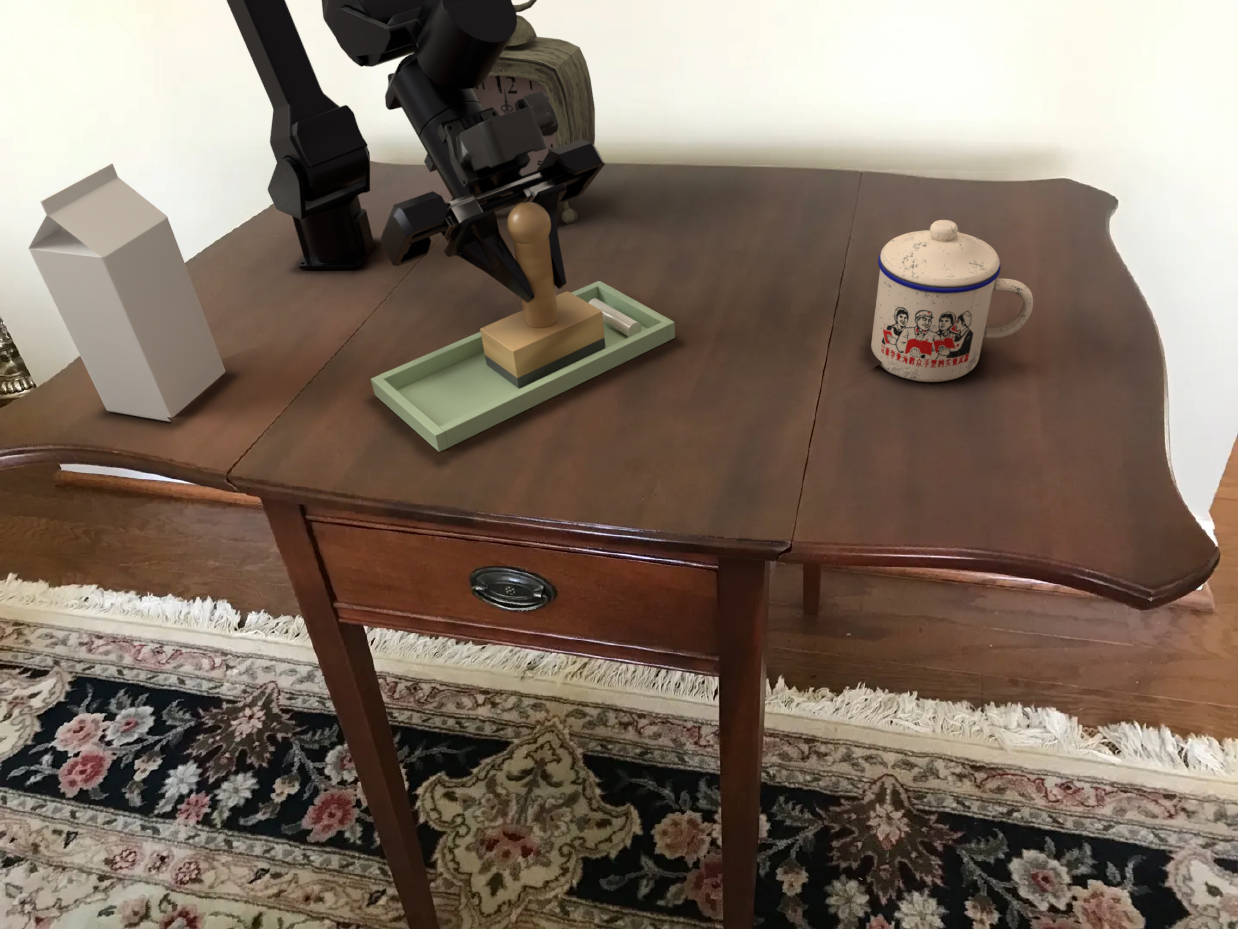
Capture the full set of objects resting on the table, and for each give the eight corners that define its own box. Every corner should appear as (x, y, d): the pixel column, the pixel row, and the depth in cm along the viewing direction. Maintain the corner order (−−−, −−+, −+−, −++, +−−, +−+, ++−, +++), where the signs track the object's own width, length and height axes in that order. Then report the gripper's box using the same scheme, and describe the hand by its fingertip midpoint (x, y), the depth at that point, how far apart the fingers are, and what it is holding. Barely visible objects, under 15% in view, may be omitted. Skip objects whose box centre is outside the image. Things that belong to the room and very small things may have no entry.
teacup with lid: (863, 379, 77) (879, 246, 70) (871, 323, 84) (886, 196, 77) (1021, 395, 75) (1054, 257, 67) (1016, 335, 81) (1046, 204, 74)
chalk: (629, 341, 83) (642, 333, 84) (627, 327, 82) (640, 319, 83) (588, 316, 87) (600, 309, 87) (585, 302, 86) (598, 295, 86)
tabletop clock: (458, 223, 106) (414, -25, 91) (489, 190, 113) (454, -46, 97) (581, 232, 102) (558, -25, 87) (606, 198, 109) (589, -47, 94)
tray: (440, 459, 73) (435, 435, 71) (376, 401, 79) (370, 378, 78) (675, 344, 84) (674, 321, 82) (601, 302, 90) (599, 280, 89)
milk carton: (229, 378, 84) (149, 166, 72) (175, 425, 79) (79, 204, 67) (163, 368, 86) (75, 160, 74) (107, 413, 81) (2, 197, 69)
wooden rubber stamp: (519, 389, 78) (494, 232, 70) (486, 365, 81) (459, 212, 73) (605, 347, 82) (592, 195, 74) (571, 326, 85) (555, 177, 77)
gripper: (363, 95, 65) (475, 295, 65) (580, 34, 74) (679, 210, 74) (340, 177, 75) (437, 350, 75) (534, 114, 84) (621, 269, 84)
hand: (547, 293), depth 77 cm, fingers closed on wooden rubber stamp, 3 cm apart
